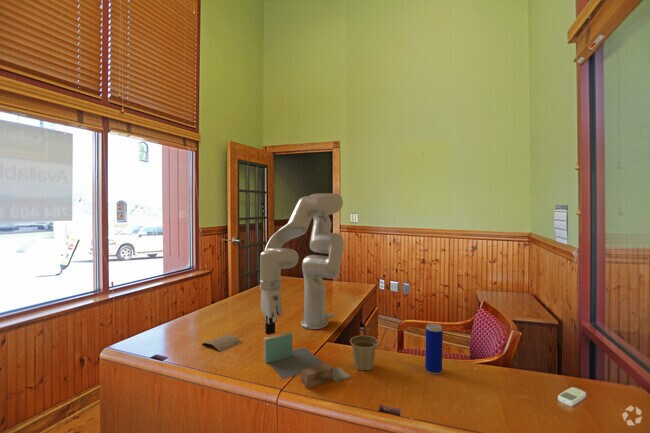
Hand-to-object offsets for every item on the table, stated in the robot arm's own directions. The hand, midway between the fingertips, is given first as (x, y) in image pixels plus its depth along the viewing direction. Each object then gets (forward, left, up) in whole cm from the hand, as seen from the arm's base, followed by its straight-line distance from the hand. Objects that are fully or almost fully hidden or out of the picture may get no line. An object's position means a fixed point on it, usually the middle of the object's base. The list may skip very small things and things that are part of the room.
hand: (270, 333), depth 116 cm
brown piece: (-8, +26, -7) cm, 28 cm away
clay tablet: (+14, -15, -8) cm, 22 cm away
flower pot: (-23, +26, -7) cm, 36 cm away
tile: (0, +7, -6) cm, 10 cm away
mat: (-4, +12, -7) cm, 15 cm away
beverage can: (-41, +40, -7) cm, 58 cm away
